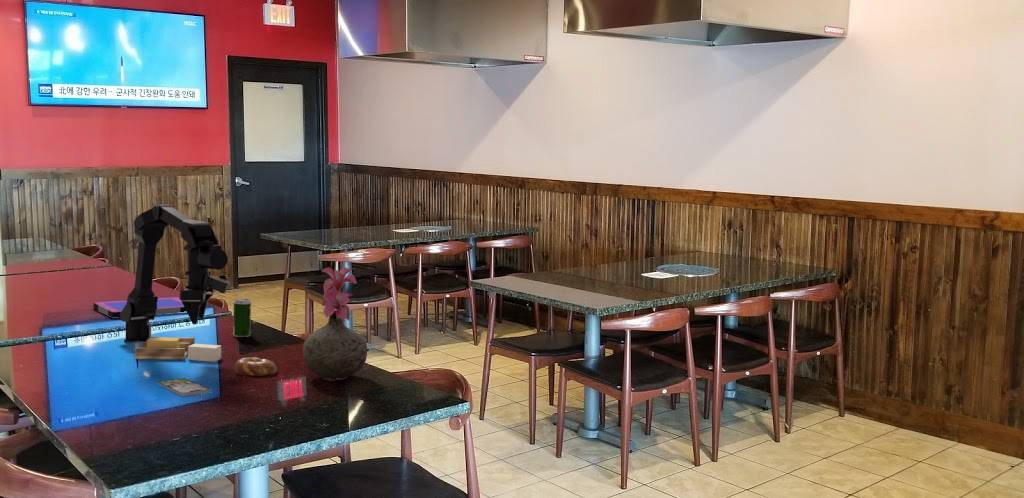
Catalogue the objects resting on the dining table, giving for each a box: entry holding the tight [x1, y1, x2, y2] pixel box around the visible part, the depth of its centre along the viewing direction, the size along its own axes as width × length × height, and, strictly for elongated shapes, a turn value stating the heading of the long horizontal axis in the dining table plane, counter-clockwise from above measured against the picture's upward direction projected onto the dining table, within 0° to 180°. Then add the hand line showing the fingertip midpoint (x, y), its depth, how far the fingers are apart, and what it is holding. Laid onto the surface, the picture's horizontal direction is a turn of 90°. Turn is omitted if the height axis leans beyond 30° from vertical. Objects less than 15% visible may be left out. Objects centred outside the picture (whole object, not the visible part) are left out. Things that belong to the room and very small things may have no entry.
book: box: [92, 296, 186, 317], centre depth 319 cm, size 21×3×30 cm
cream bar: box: [187, 343, 222, 362], centre depth 252 cm, size 8×4×4 cm, turn 85°
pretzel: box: [233, 356, 278, 377], centre depth 241 cm, size 12×11×4 cm
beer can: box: [232, 298, 252, 338], centre depth 284 cm, size 5×5×12 cm
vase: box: [302, 266, 368, 379], centre depth 237 cm, size 17×17×30 cm
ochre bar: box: [146, 338, 180, 348], centre depth 253 cm, size 8×4×4 cm, turn 99°
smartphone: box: [157, 377, 210, 397], centre depth 221 cm, size 7×1×15 cm
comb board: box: [135, 336, 196, 360], centre depth 257 cm, size 13×16×3 cm
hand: (198, 321), depth 250 cm, fingers open, 9 cm apart
